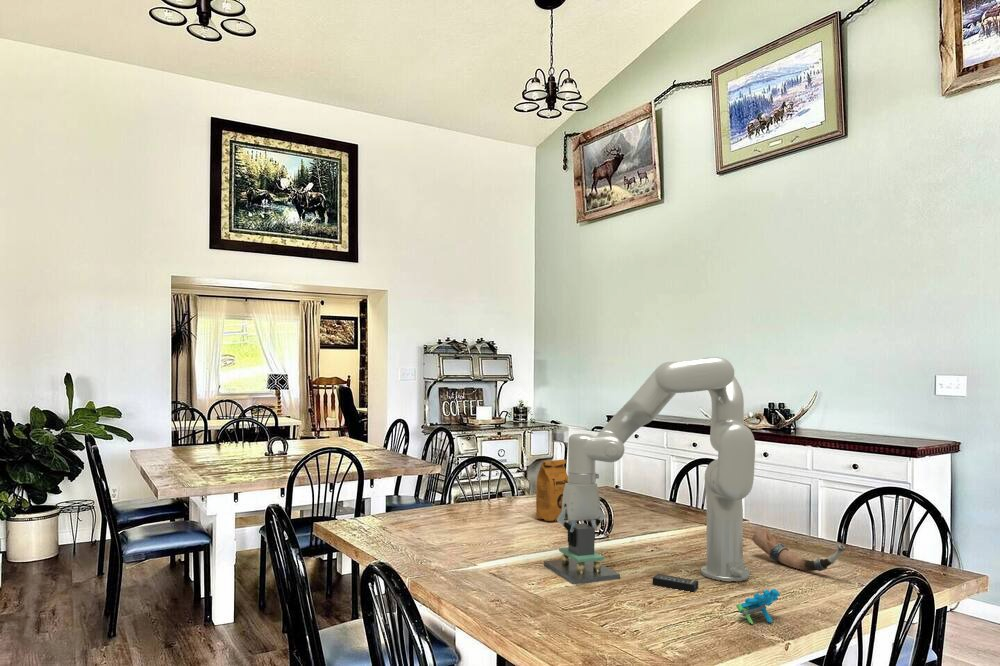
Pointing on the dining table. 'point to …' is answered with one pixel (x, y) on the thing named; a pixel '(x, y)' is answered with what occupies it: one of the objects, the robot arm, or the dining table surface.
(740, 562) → the robot arm
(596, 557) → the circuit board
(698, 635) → the dining table surface
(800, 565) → the drinking horn
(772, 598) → the blue toy dinosaur
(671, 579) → the multiport hub
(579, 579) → the plate
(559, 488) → the coffee package
